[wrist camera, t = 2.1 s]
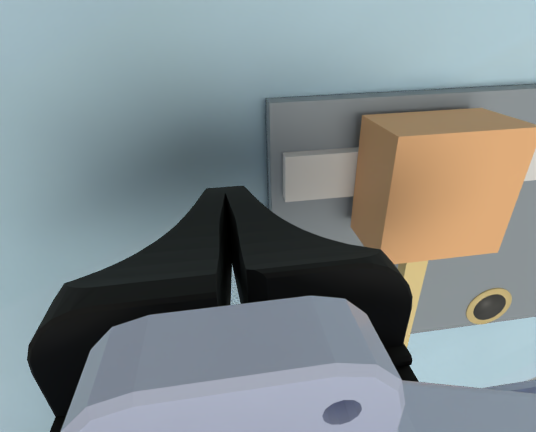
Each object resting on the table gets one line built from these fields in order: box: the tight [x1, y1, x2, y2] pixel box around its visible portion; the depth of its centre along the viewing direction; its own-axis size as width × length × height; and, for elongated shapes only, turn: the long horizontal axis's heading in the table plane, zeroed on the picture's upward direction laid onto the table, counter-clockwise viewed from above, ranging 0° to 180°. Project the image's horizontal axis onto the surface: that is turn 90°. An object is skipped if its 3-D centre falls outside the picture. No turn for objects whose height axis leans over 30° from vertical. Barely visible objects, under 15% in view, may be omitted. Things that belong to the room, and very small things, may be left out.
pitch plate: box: [266, 84, 536, 334], centre depth 18 cm, size 20×14×2 cm
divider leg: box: [350, 108, 536, 348], centre depth 15 cm, size 5×12×3 cm, turn 1°
